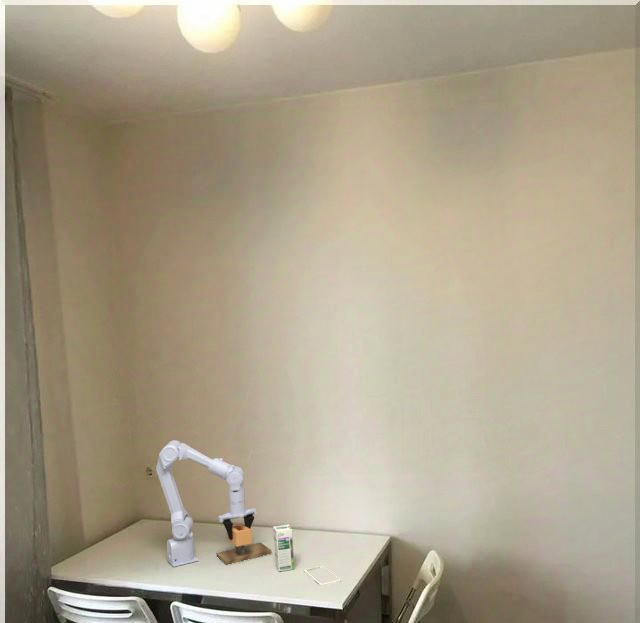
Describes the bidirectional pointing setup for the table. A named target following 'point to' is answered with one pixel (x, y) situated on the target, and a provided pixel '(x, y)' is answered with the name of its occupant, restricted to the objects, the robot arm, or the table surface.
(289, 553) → the syrup box
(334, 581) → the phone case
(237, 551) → the brown piece
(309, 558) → the table surface
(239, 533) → the collar
